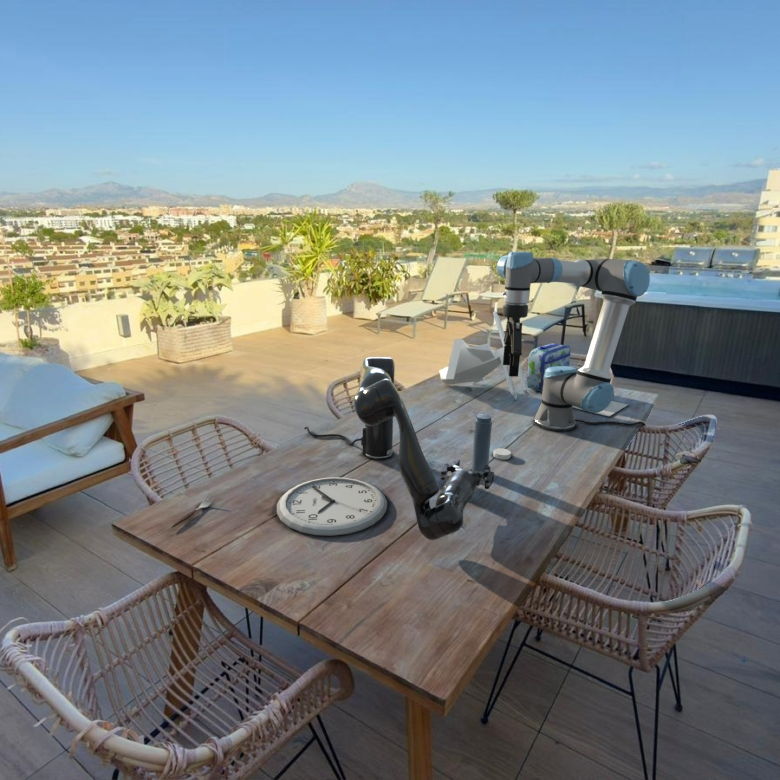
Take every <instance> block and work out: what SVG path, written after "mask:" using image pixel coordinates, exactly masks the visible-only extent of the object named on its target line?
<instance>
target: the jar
mask: <svg viewBox="0 0 780 780" xmlns="http://www.w3.org/2000/svg"><path fill="white" fill-rule="evenodd" d="M492 426H493V421H492V416H491V415H489V414H486V413H478V414H477V415H476V418H475V419H474V433H473V447H472V461H471V471H476V470H480V471H482V470H484V468H485V466H486V465H489V464H490V452H491V451H490V450H491V441H492V440H491V439H492V429H493V428H492ZM489 466H490V465H489ZM477 475H478V474H477ZM482 477H483V475H482Z"/></svg>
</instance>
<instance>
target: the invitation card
mask: <svg viewBox="0 0 780 780" xmlns="http://www.w3.org/2000/svg"><path fill="white" fill-rule="evenodd" d="M628 406H629V404H627V403H623V402H618V401H614V400H612V401H611V403H610V404H609V405H608V406H607V407H606V408H605V409H604V410H603V411H601V412H598V413H595V414H596V415H600V416H604V417H608V418H609V417H611V416H613V415H614V414H616V413H617V412H619V411H621V410H623V409H624V408H626V407H628ZM573 409H575V410H581V411H584V410H583V409H581V408H578V407H575V406H573ZM587 413H590V412H589V411H587ZM591 413H593V412H591ZM593 414H594V413H593Z"/></svg>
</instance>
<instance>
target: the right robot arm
mask: <svg viewBox="0 0 780 780" xmlns="http://www.w3.org/2000/svg"><path fill="white" fill-rule="evenodd" d="M496 272H497V274H498V276H500V277H501V278H503V279H505V281H504V292H502V296H504V297H503V303H504V304H503V305H502V316H503V317H505V318H506V324H505V331H504V334H505V336H504V344H505V345H504V356H503V365H508V368H509V376H511V377H518V378H519V376H518V371H519V362H520V361H521V360H520V359H521V356H522V355H523V353H522V344H523V343H522V340H523V338H522V337H523V322H521V319H523V318H524V319H525V318H527V317H528V315H529V314H528V312H529V305H528V304H529V303H530V296H531V295H530V294H531V286H532V285H531V284H546V283H547V284H550V283H565V284H571V285H573V286H574V287H581V288H585V289H589V290H594V291H597V292H601V294H600V297H601V299H602V300H603V302H602V305H601V307H600V311H599V315H598V319H597V321H596V325H595V328H594V332H593V334H592V337H591V341H590V344H589V347H588V351H587V354H586V358H585V360H584V363H583V366H582V367H580V368H578V369H577V367H574V366H570V365H569V366H555V367H549V368H547V369H546V370H545V374H544V379H543V390H542V392H541V402H540V405H539V407H538V410H537V411H536V413H535V416H534V424H535V425H536V426H537V427H539V428H542V429H544V430H549V431H556V432H567V431H572V430H574V429H575V428H576V422H577V423H582V424H586V425H605V424H608V425H610V424H611V425H619V426H629V427H632V426H633V427H634V426H637V425H642V426H643V427H644V426H645V427H646V423H645V422H644V421H636V422H621V421H615V420H614V421H613V420H603V421H601V420H599V421H587V420H584V419H578V418H575V417H576V416H575V413H574V407H578V408H581V409H583V410H582V411H584V412H588V411H589V412H588V413H592V412H593V414H596V413H598V412H601V411H603V410H604V409H605V408H606V407H607V406H608V405H609V404H610V403H611V401H613V398H614V396H615V390H614V389H615V387H614V386H613V385H612V384H611V381H612V377H611V375H610V373H609V371H610V369H611V366H612V362H613V360H614V356H615V353H616V350H617V346H618V343H619V340H620V337H621V334H622V331H623V327H624V325H625V321H626V318H627V316H628V312H629V308H630V307H631V306H633V305H634V304H636V302H637V299H638V298H639V297H642V296H643V295H645V293H646V292H647V291H648V289H649V287H650V281H651V275H650V272H649V268H648V266H647V265H646V264H645V263H644V262H642V261H638V260H633V259H616V258H594V259H584V258H583V259H582V258H580V259H577V260H573V261H572V260H563V259H558V258H555V257H535V256H534V253H533V252H532V251H510V252H509V253H508V254H507V255H503V256H501V257H500V258H499V259H498V261H497V264H496Z"/></svg>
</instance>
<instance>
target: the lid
mask: <svg viewBox="0 0 780 780" xmlns="http://www.w3.org/2000/svg"><path fill="white" fill-rule="evenodd" d="M492 455H493V457H494V458H496V459H498V460H501V461H502V460H504V461H505V460H509V459H511V457H512V452H511V450H510V449H507V448H502V447H501V448H499V447H498V448H495V449H493V452H492Z"/></svg>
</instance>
